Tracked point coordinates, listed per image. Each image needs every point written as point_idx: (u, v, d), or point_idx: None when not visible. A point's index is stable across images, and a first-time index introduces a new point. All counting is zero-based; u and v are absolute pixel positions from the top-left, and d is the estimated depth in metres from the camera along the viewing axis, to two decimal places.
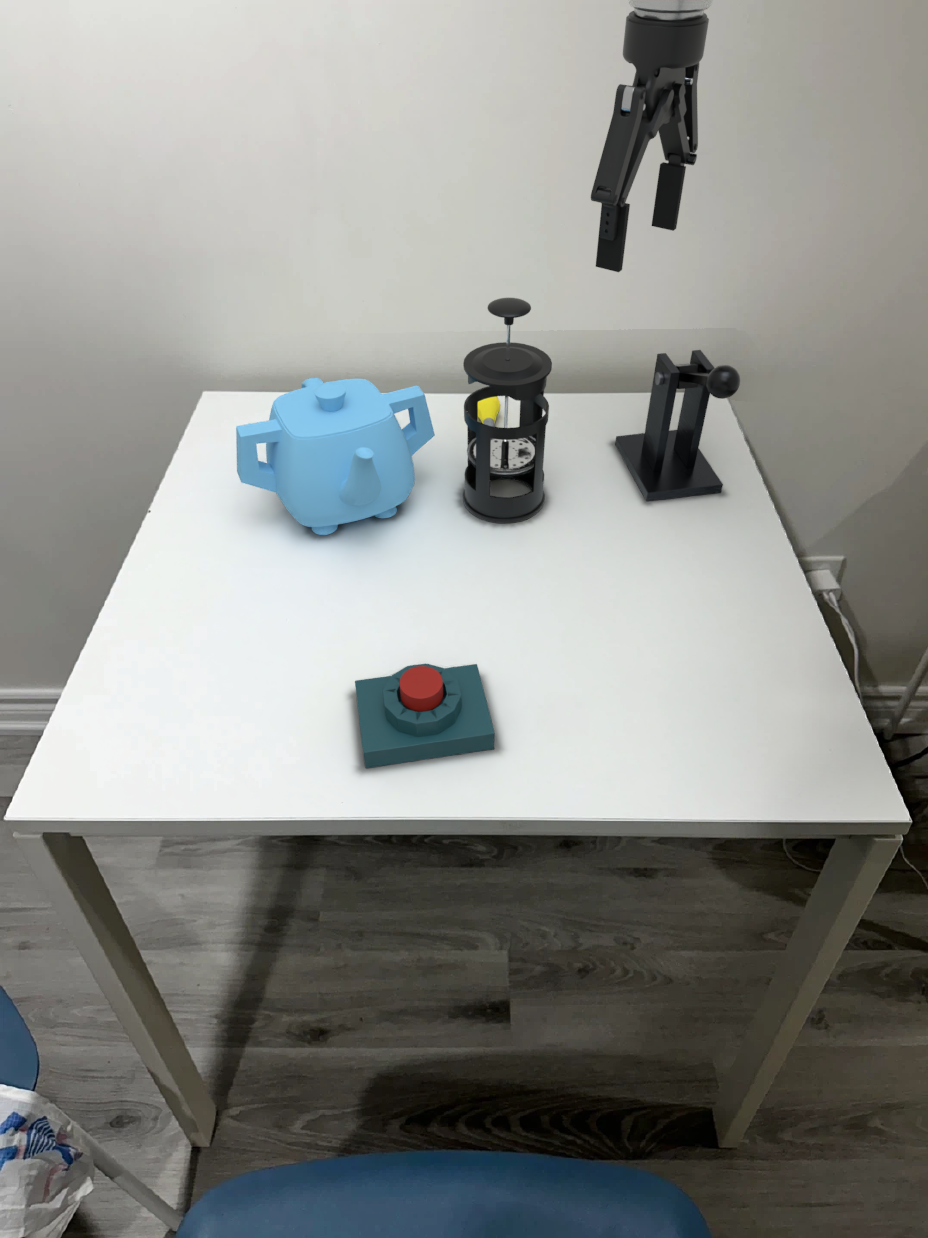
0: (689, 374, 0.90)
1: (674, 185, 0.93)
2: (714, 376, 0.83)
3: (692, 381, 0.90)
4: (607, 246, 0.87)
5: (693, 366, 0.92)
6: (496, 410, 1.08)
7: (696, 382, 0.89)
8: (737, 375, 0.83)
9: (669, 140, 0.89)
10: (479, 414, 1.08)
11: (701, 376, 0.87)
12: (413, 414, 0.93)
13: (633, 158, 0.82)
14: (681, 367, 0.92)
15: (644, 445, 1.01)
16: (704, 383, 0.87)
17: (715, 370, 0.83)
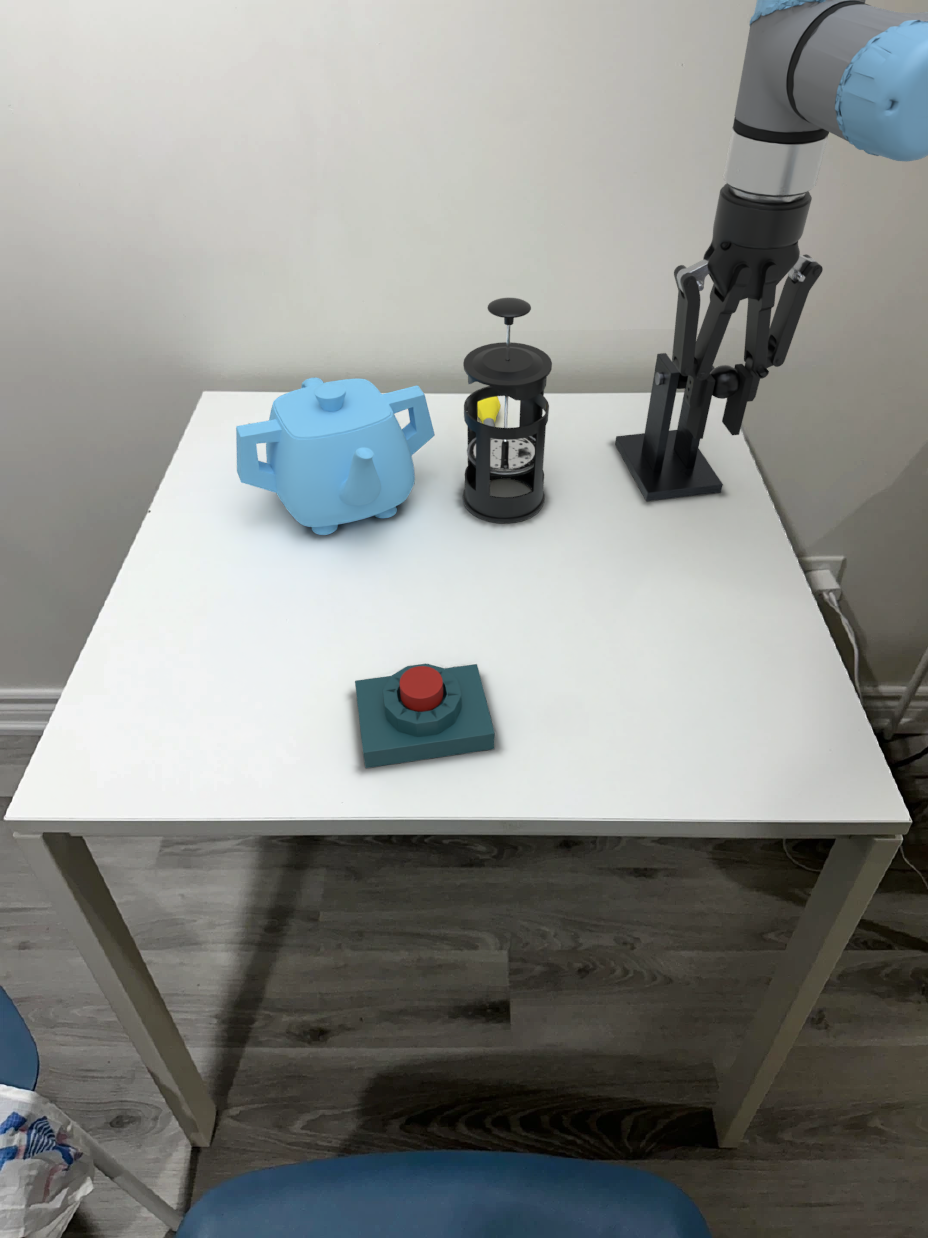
0: None
1: (739, 391, 0.84)
2: (714, 376, 0.83)
3: None
4: (694, 411, 0.86)
5: None
6: (496, 410, 1.08)
7: None
8: (737, 375, 0.83)
9: (750, 332, 0.81)
10: (479, 414, 1.08)
11: None
12: (413, 414, 0.93)
13: (709, 336, 0.79)
14: None
15: (644, 445, 1.01)
16: None
17: (715, 370, 0.83)
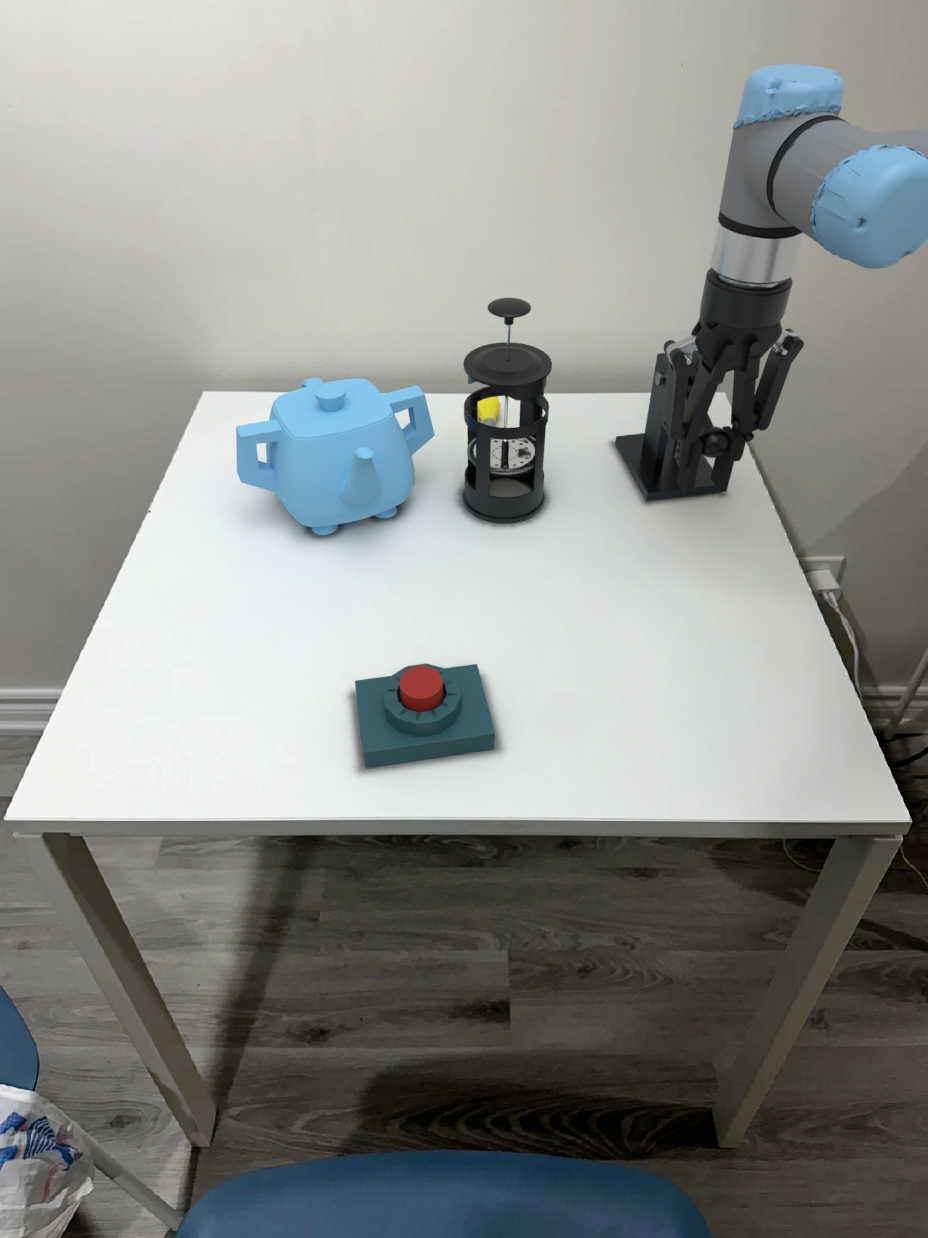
0: (687, 392, 0.91)
1: (726, 452, 0.89)
2: (705, 443, 0.87)
3: None
4: (683, 470, 0.91)
5: (694, 377, 0.92)
6: (496, 410, 1.08)
7: None
8: (726, 445, 0.87)
9: (736, 399, 0.85)
10: (479, 414, 1.08)
11: None
12: (413, 414, 0.93)
13: (697, 404, 0.84)
14: None
15: (644, 445, 1.01)
16: None
17: (708, 437, 0.87)
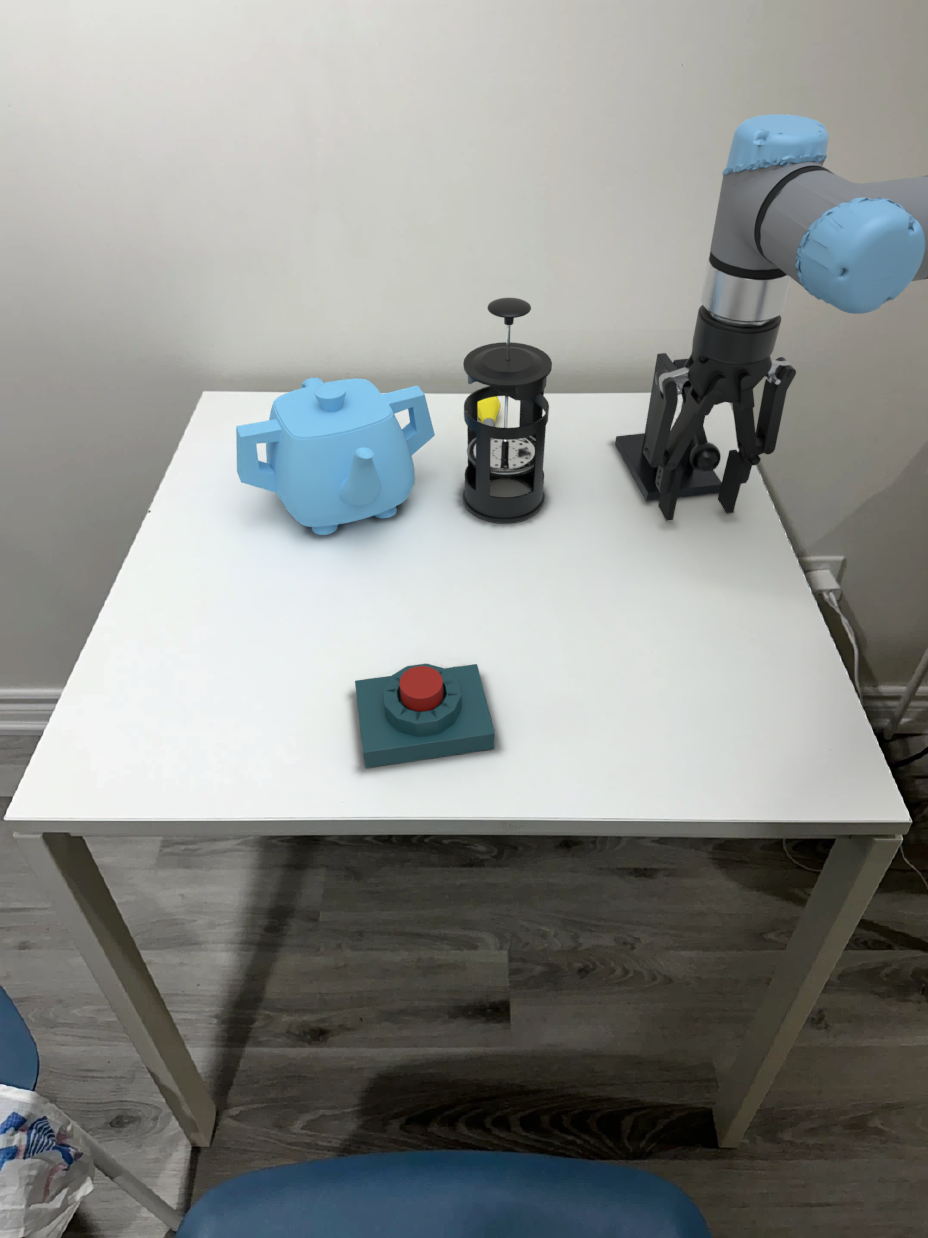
0: None
1: (733, 475, 0.91)
2: (697, 461, 0.89)
3: None
4: (664, 495, 0.93)
5: None
6: (496, 410, 1.08)
7: None
8: (717, 463, 0.90)
9: (738, 427, 0.88)
10: (479, 414, 1.08)
11: None
12: (413, 414, 0.93)
13: (681, 432, 0.86)
14: None
15: None
16: None
17: (700, 456, 0.89)
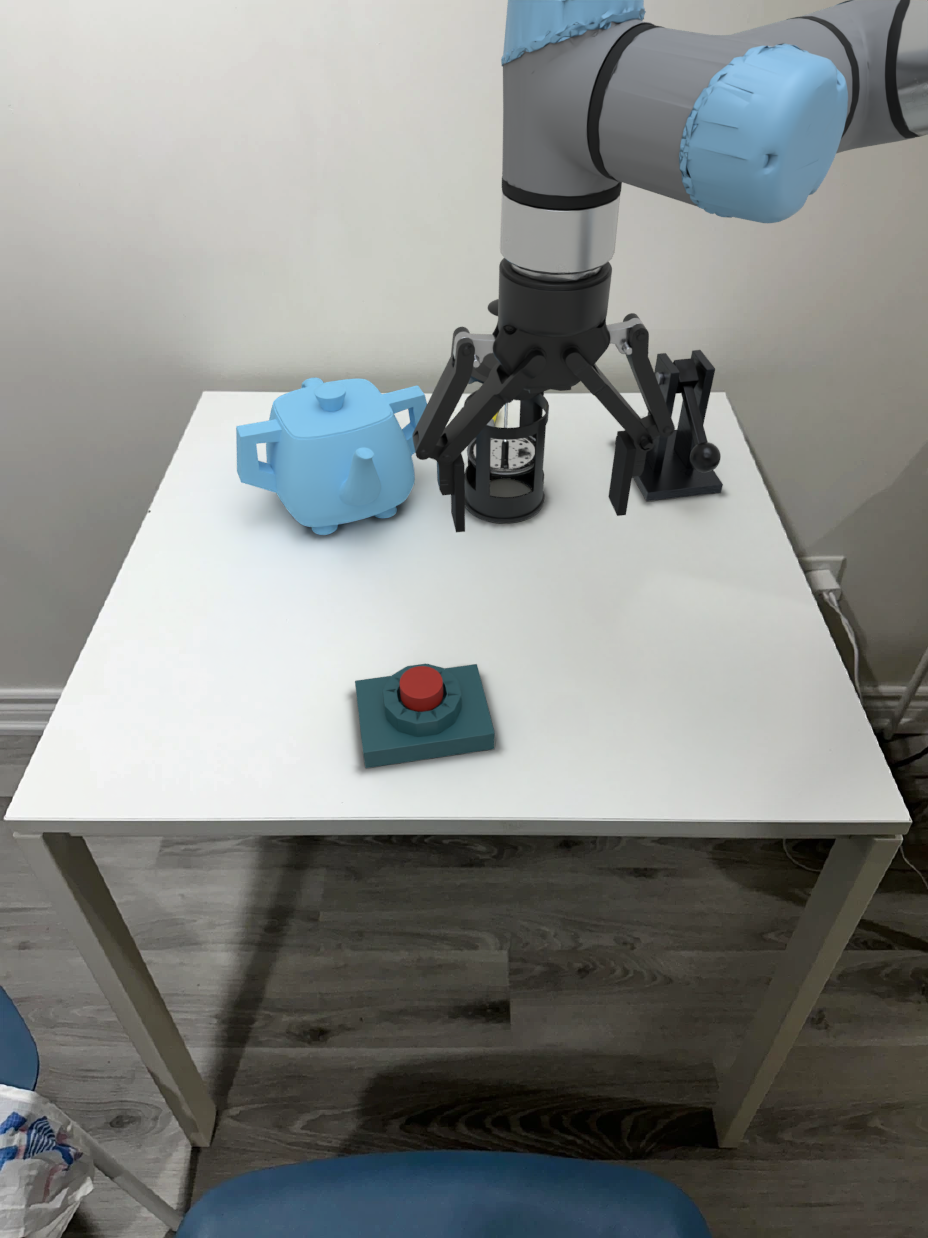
0: (686, 398, 0.92)
1: (621, 464, 0.68)
2: (697, 461, 0.89)
3: (685, 408, 0.92)
4: (452, 498, 0.69)
5: (694, 381, 0.92)
6: None
7: (687, 416, 0.92)
8: (717, 463, 0.90)
9: None
10: None
11: (692, 423, 0.91)
12: (413, 414, 0.93)
13: (471, 416, 0.63)
14: (682, 382, 0.92)
15: None
16: (692, 433, 0.92)
17: (700, 456, 0.89)
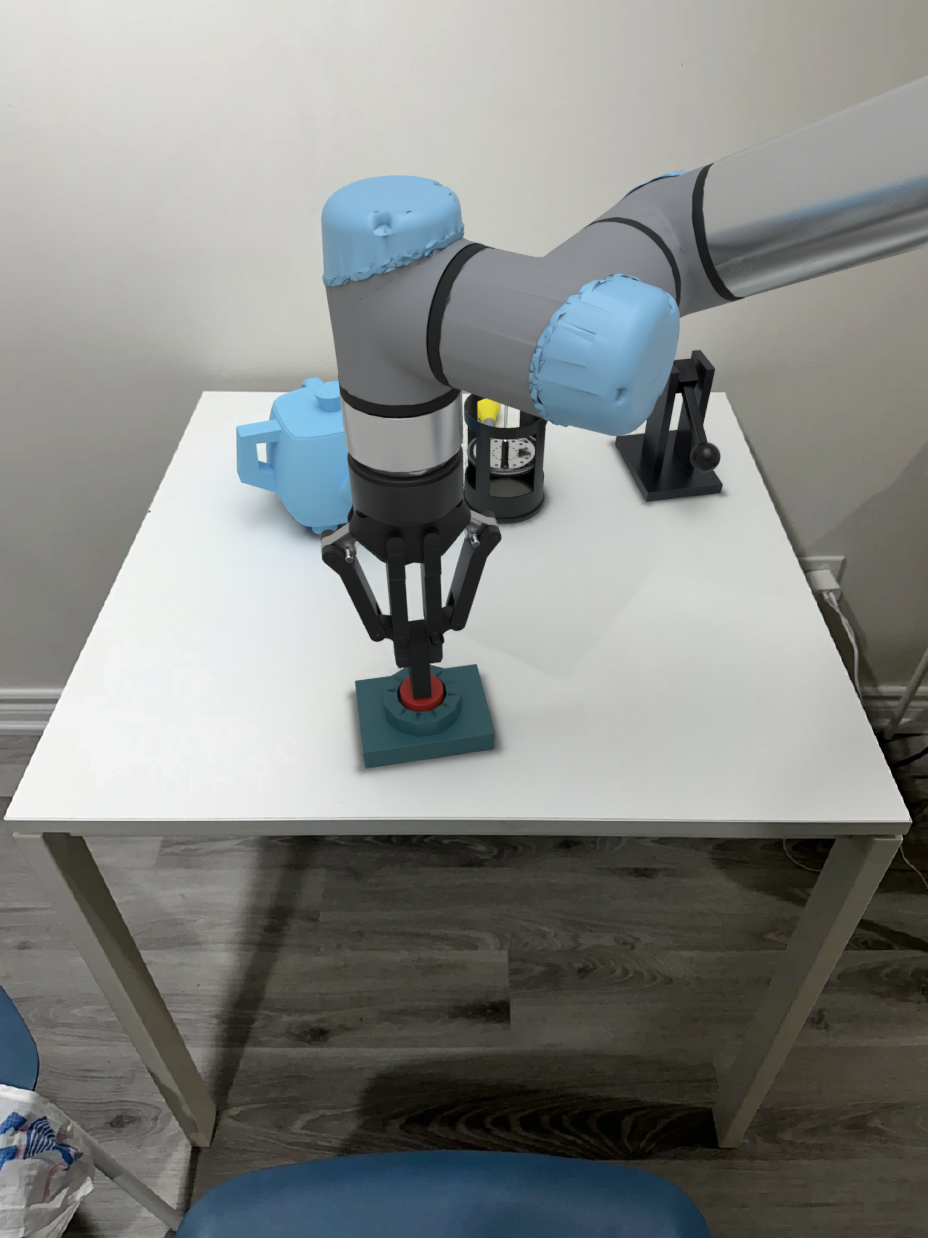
0: (686, 398, 0.92)
1: None
2: (697, 461, 0.89)
3: (685, 408, 0.92)
4: None
5: (694, 381, 0.92)
6: (496, 410, 1.08)
7: (687, 416, 0.92)
8: (717, 463, 0.90)
9: (423, 592, 0.64)
10: (479, 414, 1.08)
11: (692, 423, 0.91)
12: None
13: (390, 602, 0.63)
14: (682, 382, 0.92)
15: (644, 445, 1.01)
16: (692, 433, 0.92)
17: (700, 456, 0.89)
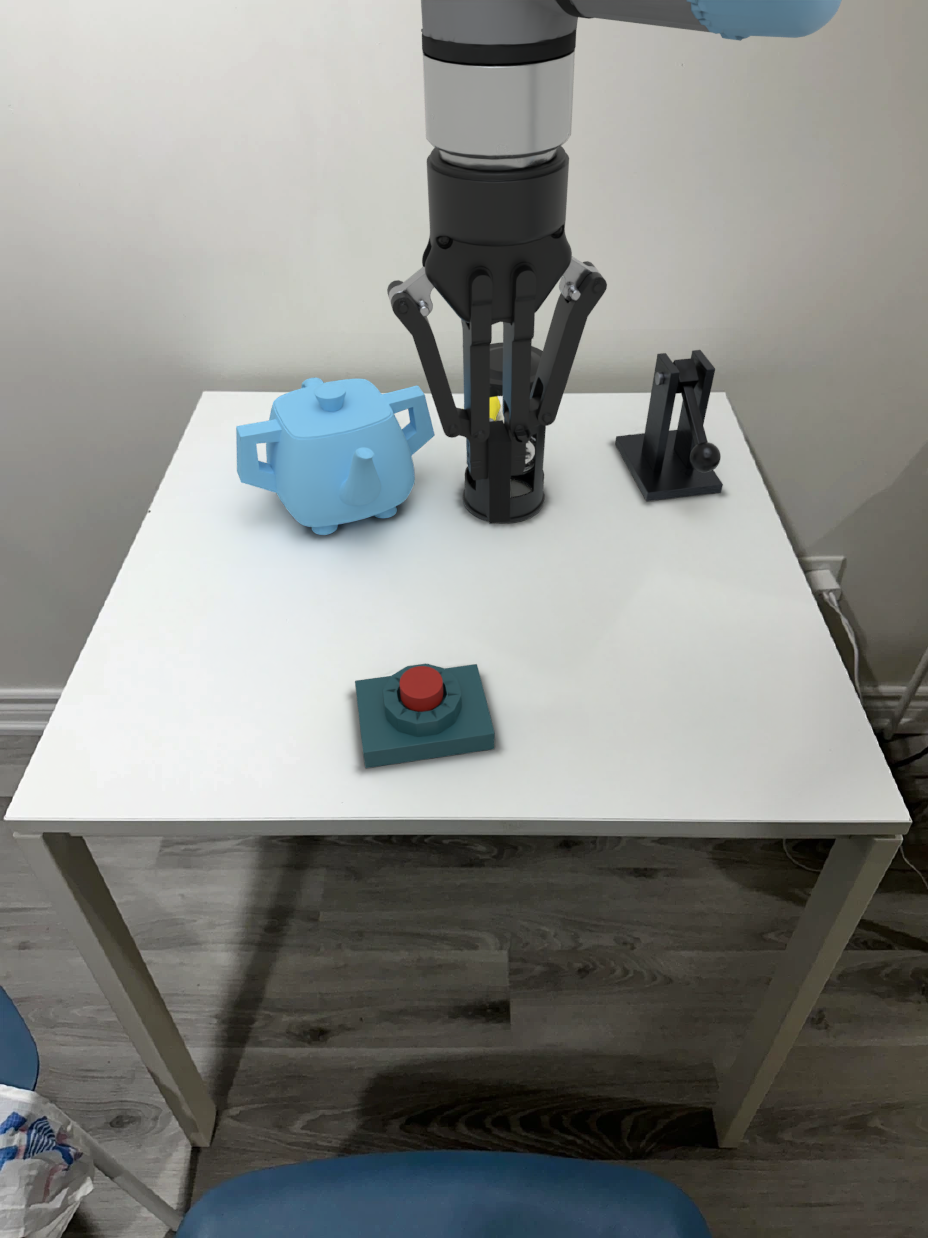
0: (686, 398, 0.92)
1: None
2: (697, 461, 0.89)
3: (685, 408, 0.92)
4: (484, 483, 0.59)
5: (694, 381, 0.92)
6: (496, 410, 1.08)
7: (687, 416, 0.92)
8: (717, 463, 0.90)
9: (506, 374, 0.54)
10: None
11: (692, 423, 0.91)
12: (413, 414, 0.93)
13: (469, 381, 0.52)
14: (682, 382, 0.92)
15: (644, 445, 1.01)
16: (692, 433, 0.92)
17: (700, 456, 0.89)
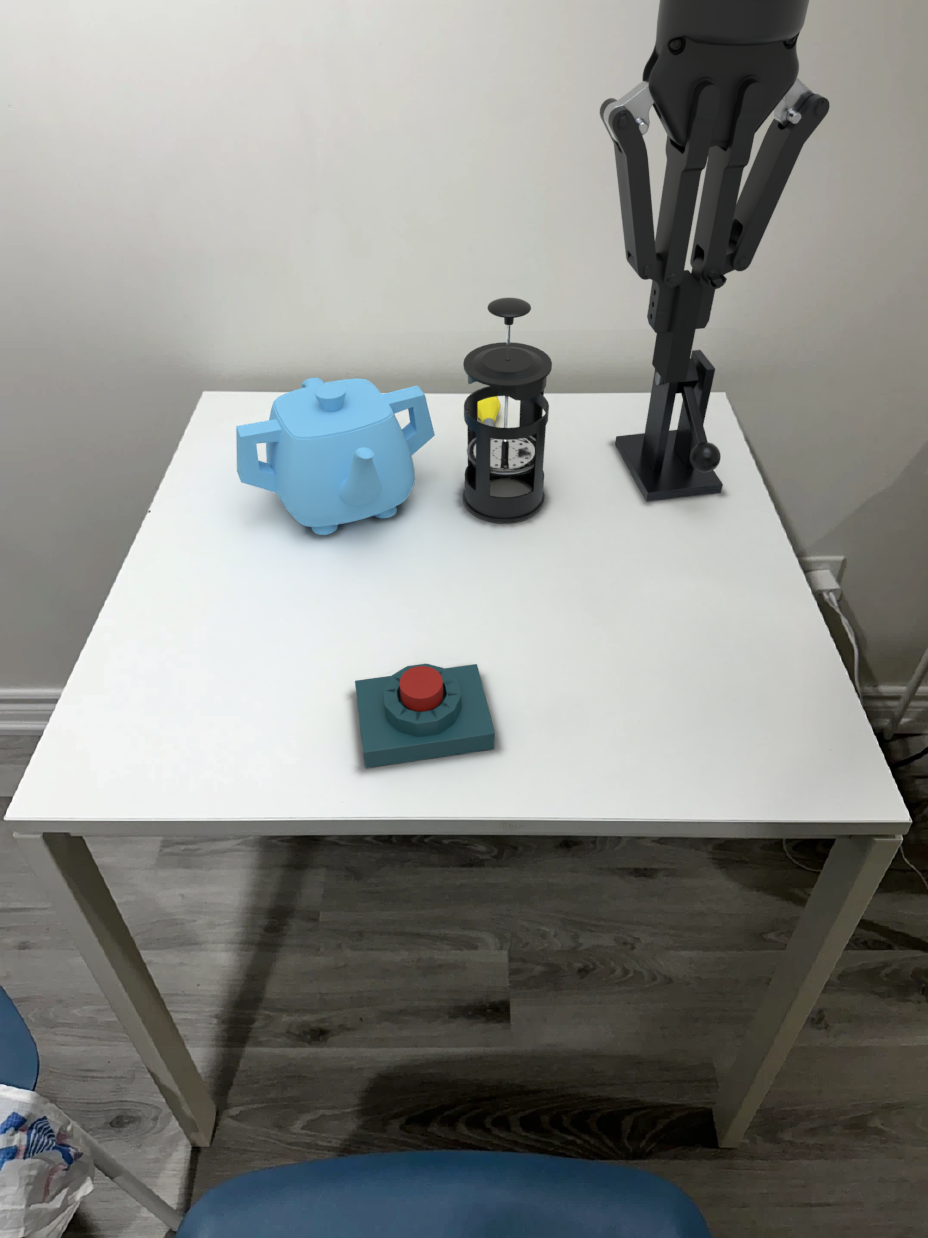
0: (686, 398, 0.92)
1: None
2: (697, 461, 0.89)
3: (685, 408, 0.92)
4: (662, 340, 0.57)
5: (694, 381, 0.92)
6: (496, 410, 1.08)
7: (687, 416, 0.92)
8: (717, 463, 0.90)
9: (706, 212, 0.52)
10: (479, 414, 1.08)
11: (692, 423, 0.91)
12: (413, 414, 0.93)
13: (672, 214, 0.50)
14: (682, 382, 0.92)
15: (644, 445, 1.01)
16: (692, 433, 0.92)
17: (700, 456, 0.89)
